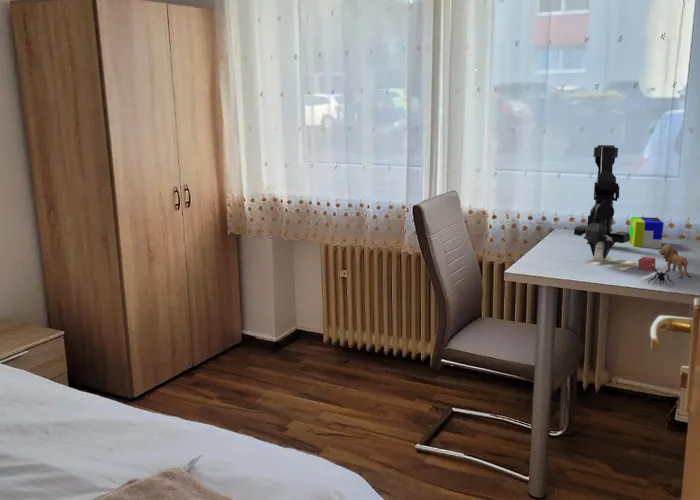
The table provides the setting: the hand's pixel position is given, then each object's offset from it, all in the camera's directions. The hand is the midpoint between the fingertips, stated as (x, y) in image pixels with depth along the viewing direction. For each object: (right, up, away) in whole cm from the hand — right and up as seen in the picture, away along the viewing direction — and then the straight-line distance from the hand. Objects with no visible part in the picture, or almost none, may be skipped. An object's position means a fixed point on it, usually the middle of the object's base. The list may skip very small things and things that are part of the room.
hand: (599, 257), depth 242 cm
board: (+3, -3, -3) cm, 5 cm away
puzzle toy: (+28, +5, +27) cm, 39 cm away
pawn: (0, -1, 0) cm, 1 cm away
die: (+11, -2, -10) cm, 15 cm away
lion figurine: (+20, -6, -13) cm, 25 cm away
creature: (+10, -9, -25) cm, 29 cm away
